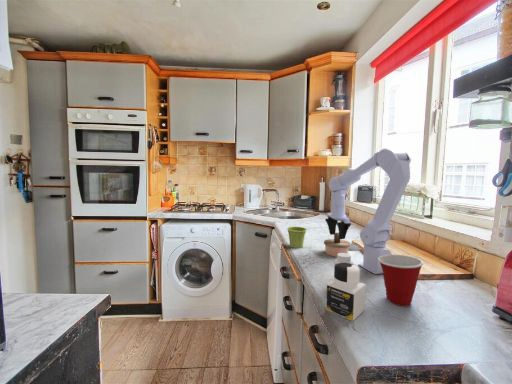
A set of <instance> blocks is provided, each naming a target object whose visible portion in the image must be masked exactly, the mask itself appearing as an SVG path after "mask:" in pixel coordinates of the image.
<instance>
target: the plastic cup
mask: <svg viewBox="0 0 512 384" xmlns="http://www.w3.org/2000/svg"><path fill="white" fill-rule="evenodd" d="M378 261H379V262H380V264H381V267H382V270H383V273H382V276H383V283H384V288H385V294H386V298H387V300H388V302H390V303H391V304H393V305H397V306H401V307H408V306H410V305H411V304H412V302H413V297H414V294H415V293H416V292H415V291H416V287H417V282H418V278H419V275H420V272H421V268H422V266H423V265H424V261H423V260H422V259H420V258H418V257H414V256H410V255H404V254H392V255H383V256H380V257H378Z"/></svg>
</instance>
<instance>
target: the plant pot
mask: <svg viewBox="0 0 512 384" xmlns="http://www.w3.org/2000/svg"><path fill="white" fill-rule="evenodd" d="M286 230H287V233H288V241H289V245H290V246H289V247H291V248H294V249H297V248H298V249H301V248H303V247H304V240H305V235H306V232H307V228H305V227H302V226H288V227H287V228H286Z"/></svg>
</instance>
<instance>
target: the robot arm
mask: <svg viewBox="0 0 512 384" xmlns="http://www.w3.org/2000/svg"><path fill="white" fill-rule="evenodd" d="M411 161H412V158H411V157H410V155H409V153H408V152H407V151H406V150H404V149H390V148H388V147H387V148H383V149H380V150H379V151H377V152H375V153H374V154H373V155H372V156H371V157H369V158H368V159H367V160H366V161H364V162H363V163H361V164H360V165H359V166H357V167H351V168H350V167H349V168H347V169H346V171H345V172H343V173H340V174H338V176H337V177H335V176H333V177H331V179H330V180H329V181H328V188H329V190H330V191H331V193H330V195H331V197H330V212H327V213H326V218H325V219H324V220H325V222H326V225H327V228H328V231H329V235H331V236H334V233H336V232H337V230H338V233H339V238H340V240H345V238H346V236H347V234H348V233H347V232H348V230H349V228H350V227H351V225H352V224H351V221H350V220H351V219H350V218H349V217H348V215H346V194H347V190H348V188H349V187H350V186H352V185H353V184H355V183H357V182H359V181H361V176H363V175H365V174H367V173H369V172H371V171H373V170H375V169H376V168H378V167H380V168H381V169H382V170H383V171H384V172H385V173H386V174H387V176H388V178H389V180H388V183H387V185H386V187H385V189H384V191H383V194H382V195H381V199H380V201H379V203H378V206H377V208H376V210H375V213H374V214H373V217H372V218H371V220H370V219H369V221H368V222H367V223H366V224H365V226H364V228H362V229H361V230H360V233H359V238H360V240H361V242H362V244H363V262H360V263H359V262H358V263H357V265H358V266H360V267H361V268H363V269H365V270H366V271H369V272H370V273H372V274H374V275H380V274H383V270H382V267H381V264H380V262H379V261H378V257H380V256H383V255H393V254H392V252H391V251H390V249H388V248H387V246H386V245H387V242H388V241H389V240H390V237H391V229H392V226H391V224H390V222H391V220H392V217H393V216H394V213H395V212H396V209H397V207H398V205H399V203H400V201H401V199H402V196H403V194H404V193H405V190H406V188H407V186H408V184H409V182H410V180H411V171H410V170H411V168H410V164H411ZM336 229H337V230H336Z"/></svg>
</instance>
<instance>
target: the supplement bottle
mask: <svg viewBox="0 0 512 384" xmlns="http://www.w3.org/2000/svg"><path fill="white" fill-rule="evenodd" d="M338 263H350V264H353V265H354V262H353V261H352V255H351V254H350V253H348V254H347V253H338V254H337V257H336V259H334V266H335V265H336V264H338ZM334 266H333V267H334Z"/></svg>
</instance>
